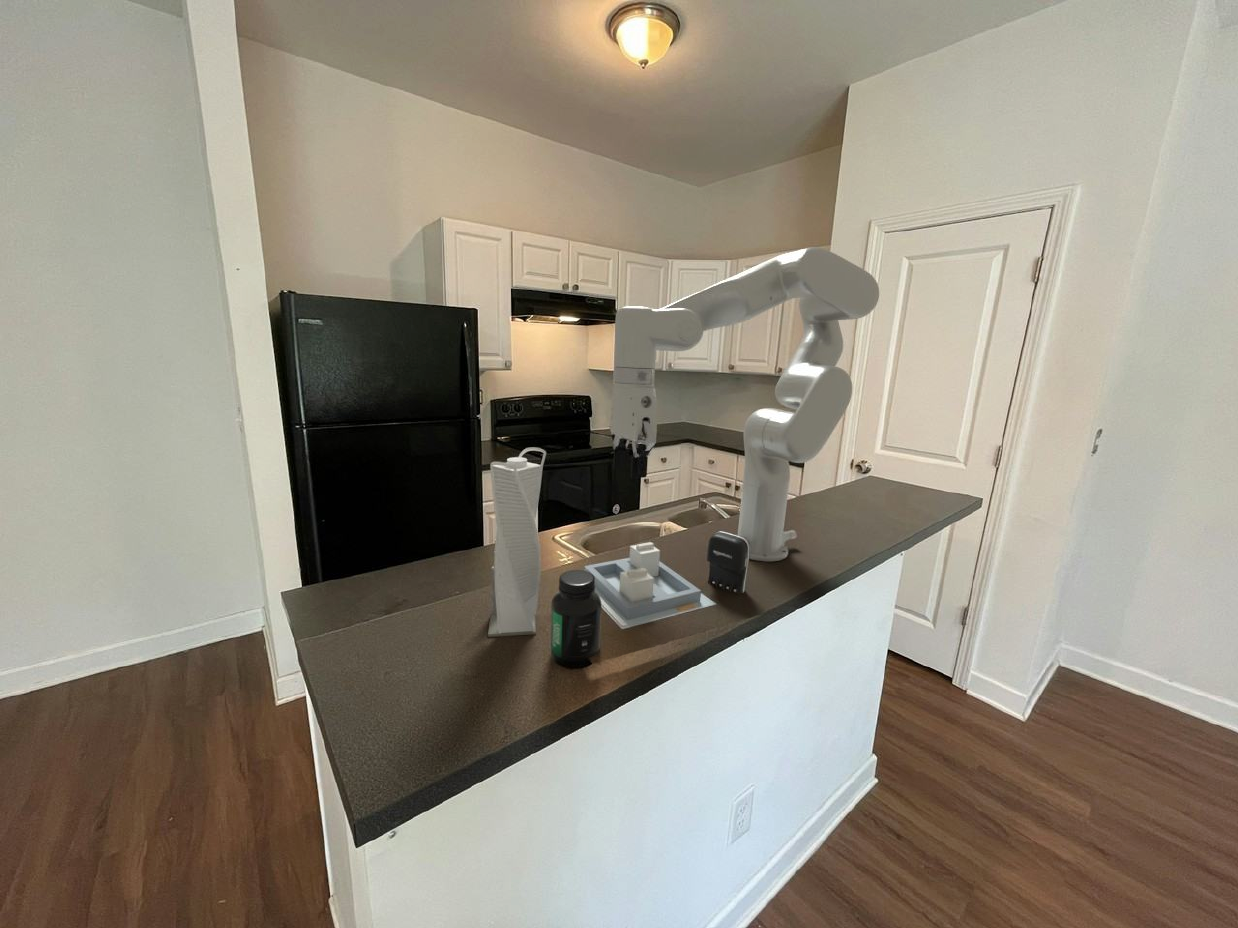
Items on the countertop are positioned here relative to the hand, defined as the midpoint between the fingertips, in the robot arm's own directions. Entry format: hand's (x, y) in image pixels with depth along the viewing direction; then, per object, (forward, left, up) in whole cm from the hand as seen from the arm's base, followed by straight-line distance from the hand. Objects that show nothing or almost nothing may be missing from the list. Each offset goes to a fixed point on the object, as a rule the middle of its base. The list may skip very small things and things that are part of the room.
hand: (629, 472), depth 93 cm
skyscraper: (+26, +11, -20) cm, 34 cm away
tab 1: (0, +7, -18) cm, 19 cm away
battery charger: (-10, +17, -20) cm, 28 cm away
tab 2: (+7, +16, -18) cm, 25 cm away
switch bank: (+4, +11, -20) cm, 23 cm away
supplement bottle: (+21, +22, -20) cm, 36 cm away
